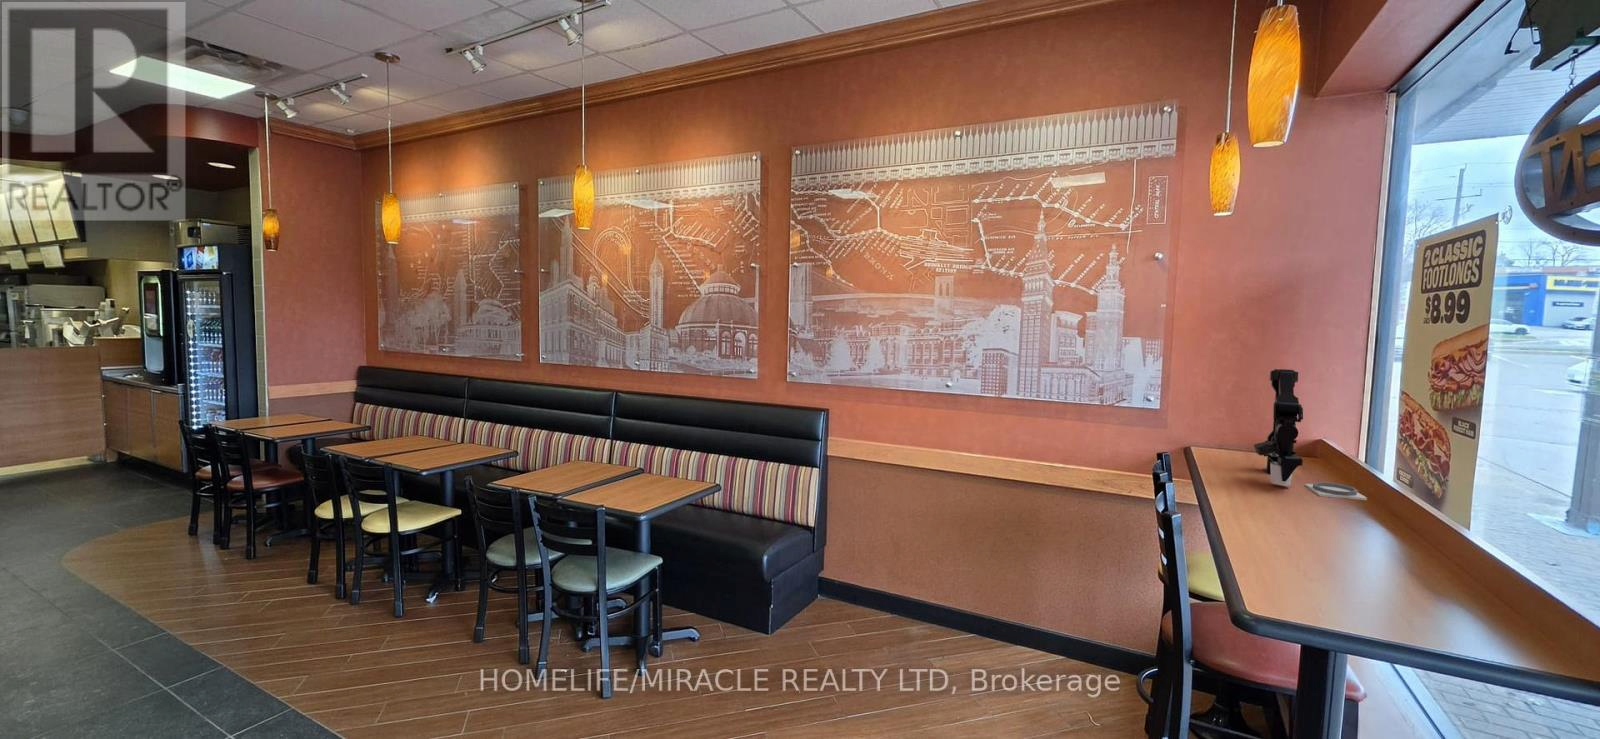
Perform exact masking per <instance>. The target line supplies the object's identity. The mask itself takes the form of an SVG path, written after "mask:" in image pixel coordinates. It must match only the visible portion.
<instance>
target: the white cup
mask: <svg viewBox="0 0 1600 739" xmlns="http://www.w3.org/2000/svg"><path fill="white" fill-rule="evenodd" d="M1270 470H1271V474H1270V483H1272V484H1274V485H1277V486H1278V485H1279V486H1291V483H1292V478H1293V473H1292V474H1291V475H1290V477H1289V478H1288V479H1287V481H1286V482H1285V481H1282V476H1281V466H1280V465H1279V464H1278V463H1277V462H1270Z"/></svg>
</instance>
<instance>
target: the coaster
mask: <svg viewBox="0 0 1600 739" xmlns="http://www.w3.org/2000/svg"><path fill="white" fill-rule="evenodd" d="M1304 487H1306V488H1307V489H1309V490H1310V491H1312V492H1313V493H1314V494H1315V495H1317V496H1319V497H1324V498H1325V497H1326V498H1335V499H1346V498H1347V499H1348V500H1356V501H1357V500H1359V501H1368V497H1366V496H1365V495H1363V494H1361V493H1360V492H1359V489H1357V488H1355V487H1353V486H1349V485H1346V484H1340V483H1335V482H1325V481H1324V482H1314V483H1304Z"/></svg>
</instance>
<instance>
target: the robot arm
mask: <svg viewBox="0 0 1600 739" xmlns="http://www.w3.org/2000/svg"><path fill="white" fill-rule="evenodd" d="M1269 382H1271V383H1270V385H1271V387H1272V389H1273V390H1274V393H1275V395H1274V396H1275V397H1274V402H1273V406H1272V407H1273V408H1272V409H1273V410H1272V418H1273V419H1272V420H1273V422H1272V423H1273V424H1272V430H1271V432H1269V434H1268V435H1267V436H1266V440H1264V441H1263V442H1258V443H1254V444H1253V447H1254V450H1255V453H1256V454H1257V455H1258V456H1263V457H1266V460H1267V461H1266V468H1264V467H1263V468H1262V470H1263V471H1265V472H1266V473H1267V474H1269V475H1271V470H1270V462H1277V463H1278V464H1279V465H1280V466H1281V476H1282V481H1285V482H1286V481H1287V479H1288V478H1289V477H1290V475H1291V474H1292V475H1293V473H1294V471H1295V470H1296V469H1297V468H1298V467H1299V466H1300V467H1301V466H1303V463H1304V461H1303V458H1302V457H1300V456H1299V455H1297V454H1296V451H1295V450H1294V449H1295V444H1297V442H1298V441H1297V438H1298V436H1299V429H1298V428H1297V426H1296V425H1297V423H1301V422H1302V421H1303V419H1304V407H1303V406H1302V404H1300V402H1299V398H1298V397H1297V396H1296V395H1295V393H1294V392H1295V391H1294V390H1295V389H1294V388H1295V385H1296V383H1298V382H1299V371H1296V370H1294V369H1288V368H1287V369H1285V368H1283V369H1282V368H1280V369H1278V368H1274V370H1270V372H1269Z"/></svg>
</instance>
